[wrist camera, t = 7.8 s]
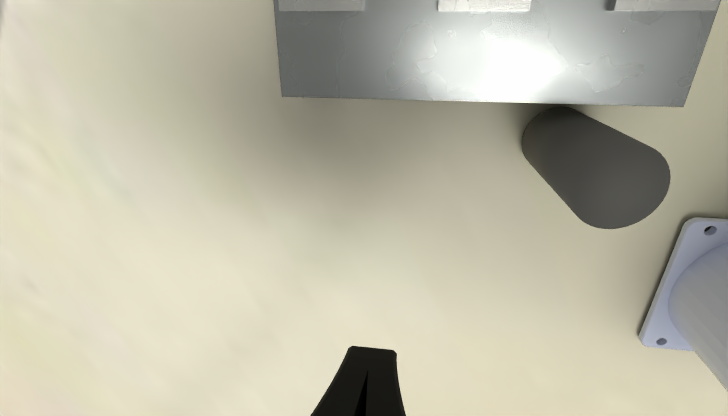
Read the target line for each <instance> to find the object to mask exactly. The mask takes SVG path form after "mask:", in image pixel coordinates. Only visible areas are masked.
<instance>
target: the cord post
mask: <svg viewBox="0 0 728 416" xmlns="http://www.w3.org/2000/svg"><path fill="white" fill-rule="evenodd" d="M522 150H523V153H524V156H525V158H526V159H527V160H528V162H529V163H530V164H531V165H532V166H533V167H534V168H535V170H536V171H537V172H538V173H539V174H540V175H541V176H542V177H543V178H544V180H545V181H546V182H547V183H548V184H549V185H550V186H551V187H552V188H553V190H554V191H555V192H556V193H557V194H558V195H559V196H560V197H561V199H562V200H563V201H564V202H565V203H566V204H567V205H568V206H569V207H570V209H571V210H572V211H573V212H574V213H575V214H576V215H577V216H578V217H579V218H580V219H581V220H582V221H583V222H585V223H587V224H589V225H591V226H594V227H597V228H602V229H616V228H622V227H626V226H629V225H632V224H635V223H637V222H639V221H641V220H642V219H644V218H646V217H647V216H648V215H650V214H651V213H652V212H653V211H654V210H655V209H656V208H657V207H658V206H659V205H660V203H661V202H662V201H663V199H664V197H665V196H666V194H667V191H668V188H669V184H670V170H669V166H668V164H667V161H666V160H665V158H664V157H663V156H662V155H661V154H660V153H659V152H658V151H657V150H655V149H653V148H652V147H650V146H648V145H646V144H643V143H641V142H639V141H637V140H635V139H633V138H631V137H629V136H627V135H625V134H623V133H621V132H619V131H617V130H615V129H613V128H611V127H609V126H607V125H605V124H603V123H601V122H599V121H597V120H595V119H593V118H591V117H589V116H587V115H585V114H583V113H581V112H579V111H577V110H574V109H571V108H567V107H557V108H552V109H549V110H546V111H544V112H542V113H541V114H539V115H538V116H536V117H535V118H534V119H533V120H532V121H531V122H530V123H529V125H528V126H527V128H526V130H525V132H524V135H523V139H522Z"/></svg>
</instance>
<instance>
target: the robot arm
mask: <svg viewBox="0 0 728 416" xmlns="http://www.w3.org/2000/svg"><path fill="white" fill-rule="evenodd" d="M709 226H711V228H710V229H709V230H707V231H704V230H705V229H706V228H707V227H709ZM660 338H662V339H660ZM658 339H660V340H658ZM639 340H640V341H641V343H642V344H643V345H644V346H647V347H655V348H665V349H676V350H686V351H695V352H696V354H697V355H698V356H699V357H700V358H701V360H702V361H703V362H704V363H705V364H706V366H707V367H708V368H709V369H710V371H711V372H712V373H713V374H714V375H715V377H716V378H717V379H718V380H719V382H720V383H721V384H722V385H723V386H724V388H725V389H726V390H727V391H728V219H718V218H701V217H697V218H692V219H689V220H688V221H687V222H685V224H684V225H683V227H682V230H681V232H680V235H679V237H678V240H677V242H676V245H675V247H674V250H673V252H672V255H671V257H670V260H669V262H668V265H667V267H666V269H665V272H664V274H663V277H662V279H661V282H660V284H659V287H658V289H657V292H656V294H655V297H654V299H653V302H652V304H651V307H650V309H649V312H648V314H647V317H646V319H645V322H644V324H643V327H642V329H641V332H640V334H639ZM396 358H397V353H396V352H395V351H394V350H387V349H378V348H368V347H358V346H351V347H350V348H348V351H347V353H346V355H345V358H344V360H343V362H342V364H341V366H340V368H339V370H338V372H337V373H336V375H335V377H334V379H333V381H332V382H331V384H330V386H329V387H328V389H327V391H326V392H325V394H324V395H323V397H322V399H321V400H320V402H319V404H318V405H317V407H316V408H315V410H314V411H313V413H312V414H311V416H406V415H405V410H404V406H403V402H402V398H401V393H400V387H399V381H398V374H397V361H396Z"/></svg>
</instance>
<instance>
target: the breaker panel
mask: <svg viewBox="0 0 728 416" xmlns="http://www.w3.org/2000/svg"><path fill="white" fill-rule="evenodd" d="M720 1H721V0H274V11H275V23H276V34H277V45H278V57H279V68H280V80H281V91H282V97H320V98H359V99H397V100H436V101H474V102H512V103H551V104H589V105H628V106H666V107H684V104H685V101H686V98H687V96H688V93H689V90H690V87H691V84H692V81H693V78H694V76H695V73H696V70H697V67H698V64H699V61H700V58H701V56H702V53H703V50H704V47H705V44H706V41H707V39H708V36H709V33H710V30H711V27H712V24H713V21H714V19H715V16H716V13H717V10H718V7H719V4H720Z"/></svg>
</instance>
